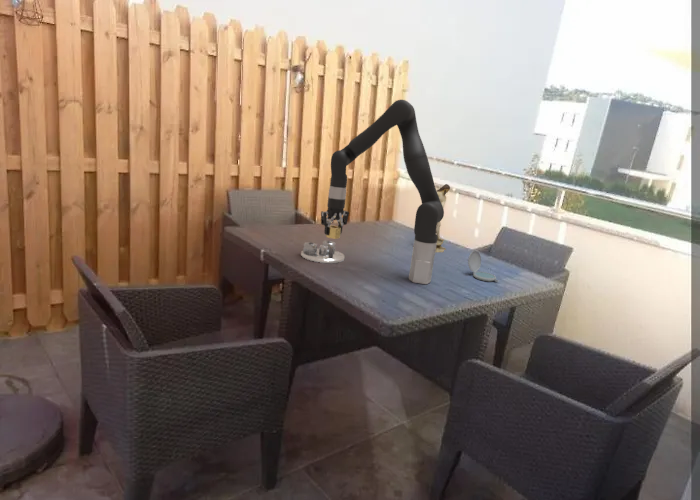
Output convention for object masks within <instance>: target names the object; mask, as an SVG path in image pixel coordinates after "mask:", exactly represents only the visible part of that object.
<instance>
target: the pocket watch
mask: <svg viewBox="0 0 700 500" xmlns="http://www.w3.org/2000/svg"><path fill="white" fill-rule="evenodd" d="M467 261H468V262H467V264H468V265H467V266H468V268H469V270H470V271H471V272H472V273H473V277H474V278H475V279H477V280H479V281H482V282H488V283H489V282H490V283H491V282H496V283H498V282H500V280H498V279H497V277H496V275H494V274H492V273H491V272H487V271H479V270H480V268H481V265H482V256H481V253H480V252H479V251H477V250H473V251H471V252H470V253H469V256H468V259H467Z"/></svg>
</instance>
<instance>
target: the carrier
mask: <svg viewBox="0 0 700 500" xmlns="http://www.w3.org/2000/svg"><path fill="white" fill-rule="evenodd" d="M336 244H337V243H336V241H333V240H322V244H320V245H319V247H318V243H315V242H312V241H306V242H303V250H301V251H300V256H302V257H301V258H303V259H304V258H305V259H304V260H306V259H307V260H306V261H309V260H310V261H309V262H312V261H314V262H313V263H318V262H320V264H339V263H342V262H344V261H345V257H346V255H345V254H344V253H342V252H340V251H338V250H336ZM338 262H339V263H338Z"/></svg>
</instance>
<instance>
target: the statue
mask: <svg viewBox="0 0 700 500" xmlns="http://www.w3.org/2000/svg"><path fill="white" fill-rule="evenodd" d="M450 190H451V187H450V185H449V184H448V183H446V184H444V185H442V186H441V187H440V188H439V189H436V191H437V194H438V196H439V199H440V201H441V204H442V206H443V209H444V208H445V205H446V202H447V196H446V195H447V193H448V192H449V191H450ZM441 226H442V225H441V221H440V222H438V223H437V226H436V235H437V236H438V239H437V245H436V251H435V254H436V253H444V252H445V251H446V250H447V248H446V247H444V246H442V245H443V243H444V241H445V239H443V238H442V237H441V236H440V231H441V230H440V228H441ZM413 246H414V244H413V245H412V247H413ZM444 250H445V251H444Z"/></svg>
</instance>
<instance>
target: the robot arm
mask: <svg viewBox="0 0 700 500" xmlns="http://www.w3.org/2000/svg"><path fill="white" fill-rule="evenodd" d="M395 126H397V129H398V130H399V133H400V137H401V141H402V142H401V143H402V154H403V161H404V165H405V168H406V172H407V174H408V177H409V178H410V180H411V181H412V183H413V185H414V186H415V188H416V190H417V191H418V194H419V196H420V201H421V204H420V205H419V206H418V207H417V210H416V212H415V219H414V227H413V228H414V229H413V231H414V232H413V233H414V240H413V241H414V242H413V245H414V246H413V245H412V247H413V248H412V252H411V253H412V255H411V260H410V267H409V273H408V274H409V275H408V280H409V281H410V282H412V283H414V284H415V283H416V284H423V285H428V284H430V283H431V282H432V281H431V280H432V276H433V268H434V262H435V258H436V253H435V251H436V245H437V239H438V236H437V234H436V226H437V223H438V222H440V223H441V221H442V219H444V214H445V211H444V208H443V206H442V204H441V201H440V199H439V196H438V194H437V188H436V185H435V182H434V177H433V173H432V170H431V165H430V161H429V159H428V155H427V152H426V149H425V146H424V144H423V143H424V142H423V141H422V138H421V136H420V133H419V128H418V122H417V117H416V110H415V107H414V106H413V105H412V103H410V102H409V101H408V100H406V99H397V100H395V101H394V102H393V103H392V104H391V105H390V106H389V107H388V108H387V109H386V110H385V111H384V112H383V113H382V114H381V115H380V116H379V117H378V118H377V119H376V120H375V121H374V122H373V123H371V125H369V126H368V127H367V128H366V129H364V130H363V131H361V133H359V134H357V136H355V137H354V138H352V139H351V140H350V141H349V143H348V144H347V145H346V146H344V147H343V148H342V149H340V150H336V151H334V152H333V154H332V155H331V159H330V172H331V173H330V174H331V176H330V177H331V178H330V185H329V188H328V189H329V190H328V195H327V196H328V197H327V210H326V211H320V224H321V225H322V226H323V227H324V231H323V232H324V234H325V236H326V235H329V230H330V227H329V226H330V225H332V223H333V222H334V221H336V222H337V226H339V227H341V233H340V235H342V233H343V227H344V226H346V225H347V224H348V221H349V215H350V212H349V211H348V210H344V209H345V206H346V197H347V185H348V184H347V183H348V175H347V166H349V165H350V164H352V163H353V162H354V160H356V159H357V158H358V157H359V156H361V155H362V154H364V153H365V152H366V151H367V150H368V149H370V148H372V146H374V145H375V144H376V143H377V142H378V141H379V140H380V139H381V138H382V136H383V135H384V134H385V133H386V132H388V131H389V130H390V129H392V128H395Z"/></svg>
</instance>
